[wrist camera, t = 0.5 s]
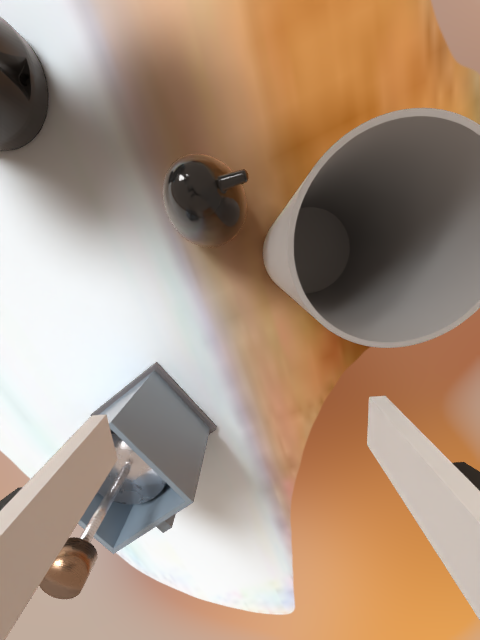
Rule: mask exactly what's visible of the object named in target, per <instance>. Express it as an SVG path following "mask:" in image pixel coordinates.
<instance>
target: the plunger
mask: <svg viewBox="0 0 480 640" xmlns="http://www.w3.org/2000/svg"><path fill="white" fill-rule="evenodd" d="M111 435H112V439H113V443H114V447H115V451H116V455H117V459H118V460H117V461H116V463H115V465H114V466H113V468H112V469H111V471H110V473H109V474H108V476H107V477H106V479H105V481H104V482H103V484H102V485H101V487H100V489H99V490H98V493H99V494H100V495H102V496H103V497H104V498H103V500H102V501H101V503H100V505H99V506H98V508H97V510H96V511H95V513H94V515H93V516H92V518H91V520H90V521H89V523H88V525H87V526H86V528H85V530H84V531H83V533H82V535H81V536H80V538H68V540H67V541H66V543H65V545H64V546H63V548H62V549H61V551H60V553H59V554H58V556H57V557H56V559H55V561H54V562H53V564H52V565H51V567H50V569H49V570H48V572H47V573H46V575H45V577H44V578H43V580H42V581H41V583H40V585H39V586H40V587H41V589H42V590H43V591H44V592H45V593H47V594H48V595H50V596H52V597H55V598H59V599H70V598H73V597H76V596H77V595H78V594H79V593H80V591H81V590H82V588H83V586H84V584H85V582H86V580H87V578H88V576H89V574H90V572H91V570H92V568H93V566H94V564H95V562H96V560H97V551H96V549H95V548H94V546H93V545H92V544H91V543H90V542H91V540H92V538H93V537H94V535H95V533H96V531H97V529H98V528H99V526H100V524H101V522H102V520H103V519H104V517H105V515H106V513H107V511H108V510H109V508H110V506H111V504H112V502H113V501H114V502H117V503H121V504H140V503H144V502H147V501H149V500H151V499H153V498H154V497H156V496H157V495H158V494H159V493H160V492H161V491H162V489H163V488H164V485H165V483H166V482H165V481H164V480H163V479H162V478H161V477H160V476H159V475H158V474H157V473H156V472H155V471H154V470H153V469H152V468H150V467H149V466H148V465H147V464H146V463H145V462H144V461H143V460H142V459H141V458H140V457H139V456H138V455H137V454H136V453H135V452H134V451H133V450H132V449H131V448H130V447H129V446H128V445H127V444H126V443H125V442H124V441H123V440H122V439H121V438H119V437H118V436H117V435H116V434H115V433H114V432H113V431H112V432H111Z"/></svg>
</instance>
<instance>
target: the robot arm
mask: <svg viewBox="0 0 480 640" xmlns="http://www.w3.org/2000/svg"><path fill="white" fill-rule="evenodd" d="M47 106H48V90H47V83H46V79H45V75H44V72H43V69H42V66H41V64H40V62H39V60H38V58H37V56H36V54H35V53H34V51H33V50H32V48H31V47H30V45H29V44H28V43H27V42H26V40H25V39H24V38H23V37H22V36H21V35H20V34H19V33H18V32H17V31H16V30H15V29H14V28H13V27H12V26H11V25H10V24H8V23H7V22H6V21H5V20H4V19H3V18H1V17H0V150H13V149H17V148H19V147H22V146H24V145H25V144H27V143H28V142H30V141H31V140H32V139H33V138H34V137H35V136H36V135H37V133H38V132H39V130H40V129H41V127H42V125H43V122H44V120H45V116H46V112H47ZM367 445H368V447H369V448H370V450H371V451H372V453H373V455H374V456H375V458H376V459H377V461H378V462H379V464H380V466H381V467H382V469H383V470H384V472H385V473H386V475H387V476H388V478H389V480H390V481H391V482H392V484H393V486H394V487H395V489H396V490H397V492H398V494H399V495H400V497H401V498H402V500H403V501H404V503H405V504H406V506H407V508H408V509H409V511H410V512H411V514H412V515H413V517H414V518H415V520H416V522H417V523H418V525H419V526H420V528H421V529H422V531H423V532H424V534H425V536H426V537H427V539H428V540H429V542H430V543H431V545H432V547H433V548H434V550H435V551H436V553H437V554H438V556H439V557H440V559H441V560H442V562H443V563H444V565H445V567H446V568H447V570H448V571H449V573H450V574H451V576H452V578H453V579H454V581H455V582H456V584H457V585H458V587H459V589H460V590H461V592H462V593H463V594H464V596H465V598H466V600H467V601H468V602H469V604H470V606H471V607H472V609H473V610H474V612H475V614H476V615H477V617H478V618H479V620H480V472H479V471H478V470H476V469H474V468H473V467H471V466H469V465H468V464H466V463H465V462H457V463H451V462H450V461H449V460H448V459H447V458H446V457H445V456H444V455H443V453H442V452H440V450H439V449H438V448H436V446H435V445H434V444H433V443H431V441H430V440H428V439H427V437H426V436H425V435H424V434H423V433H422V432H421V431H420V430H419V429H418V428H417V427H416V426H415V425H414V424H413V423H412V422H411V421H410V420H409V419H408V418H407V417H405V415H404V414H403V413H402V412H401V411H400V410H399V409H398V408H397V407H396V406H395V405H394V404H393V403H392V402H391V401H390V400H389V399H388V398H387V397H386V396H374V397H369V412H368V435H367ZM117 460H118V459H117V455H116V451H115V447H114V443H113V439H112V435H111V431H110V427H109V423H108V419H107V415H92V416H91V417H90V418H89V419H88V420H87V421H86V422H85V423H84V424H83V425H82V426H81V427H80V428H79V429H78V430H77V431H76V432H75V433H74V435H73V436H72V437H71V438H70V439H69V440H68V441H67V442H66V443H65V444H64V445H63V446H62V447H61V448H60V449H59V450H58V451H57V452H56V453H55V454H54V455H53V456H52V457H51V459H50V460H49V461H48V462H47V463H46V464H45V465H44V466H43V467H42V468H41V469H40V470H39V471H38V472H37V473H36V474H35V475H34V476H33V477H32V478H31V479H30V480H29V481H28V483H27V484H26V485H25V486H24V487H21V488H17V489H16V490H15V491H13V492H12V493H11V494H9V495H8V496H6V497H5V498H4V499H2V500H1V501H0V640H5V639H6V637H7V636H8V634H9V633H10V631H11V629H12V628H13V626H14V625H15V623H16V621H17V620H18V618H19V617H20V615H21V613H22V612H23V610H24V609H25V607H26V605H27V604H28V602H29V601H30V599H31V597H32V596H33V594H34V593H35V591H36V589H37V588H38V586H39V585H40V583H41V581H42V580H43V578H44V577H45V575H46V573H47V572H48V570H49V569H50V567H51V565H52V564H53V562H54V561H55V559H56V557H57V556H58V554H59V553H60V551H61V549H62V548H63V546H64V545H65V543H66V541H67V540H68V538H69V536H70V535H71V533H72V532H73V530H74V529H75V527H76V525H77V524H78V522H79V521H80V519H81V517H82V516H83V514H84V513H85V511H86V509H87V508H88V506H89V505H90V503H91V501H92V500H93V498H94V497H95V495H96V493H97V492H98V490H99V489H100V487H101V485H102V484H103V482H104V481H105V479H106V477H107V476H108V474H109V473H110V471H111V469H112V468H113V466H114V465H115V463H116V461H117Z"/></svg>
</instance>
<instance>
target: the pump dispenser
mask: <svg viewBox="0 0 480 640" xmlns="http://www.w3.org/2000/svg"><path fill="white" fill-rule="evenodd" d="M247 181H248V173H247V171H246V170H244V169H243V170H239V171H235V172H233V171H232V170H231V169H230V168H229V167H228V166H227V165H226V164H224V163H223V162H222V161H220V160H218V159H216V158H214V157H211V156H209V155H205V154H198V153H195V154H188V155H185V156H182V157H181V158H179V159H177V160H176V161H175V162H174V163H173V164H172V165H171V166H170V168H169V169H168V171H167V173H166V176H165V179H164V184H163V202H164V207H165V210H166V213H167V215H168V218H169V220H170V221H171V223H172V225H173V226H174V227H175V229H176V230H177V231H178V232H179V233H180V234H181V235H182V236H183V237H184V238H185V239H187V240H188V241H190V242H191V243H193V244H196V245H199V246H202V247H217V246H221V245H223V244H226V243H227V242H229V241H230V240H232V239H233V238H234V237H235V236H236V235H237V234H238V233H239V231H240V230H241V228H242V226H243V224H244V221H245V218H246V212H247V201H246V195H245V191H244V189H243V186H242V184H243V183H245V182H247Z"/></svg>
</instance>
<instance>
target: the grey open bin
mask: <svg viewBox="0 0 480 640" xmlns="http://www.w3.org/2000/svg"><path fill="white" fill-rule="evenodd" d="M92 415H107V419H108V423H109V427H110V431H111V432H112V431H113V432H114V433H115V434H116V435H117V436H118V437H119V438H121V439H122V440H123V441H124V442H125V443H126V444H127V445H128V446H129V447H130V448H131V449H132V450H133V451H134V452H135V453H136V454H137V455H138V456H139V457H140V458H141V459H142V460H143V461H144V462H145V463H146V464H147V465H148V466H149V467H150V468H152V469H153V470H154V471H155V472H156V473H157V474H158V475H159V476H160V477H161V478H162V479H163V480H164V481H165V482H166V483H165V485H164V488H163V489H162V491H161V492H160V493H159V494H158V495H157V496H156V497H154V498H153V499H151V500H149V501H147V502H144V503H140V504H121V503H117V502H114V501H113V502H112V504H111V506H110V508H109V510H108V511H107V513H106V515H105V517H104V519H103V520H102V522H101V524H100V526H99V528H98V529H97V531H96V533H95V535H94V538H95V539H96V540H98V541H99V542H100V543H101V544H102V545H103V546H105V547H106V548H107V549H108V550H109V551H111V552H112V553H113V554H114V553H116V552H117V551H119V550H120V549H122V548H123V547H125V546H126V545H128V544H130V543H131V542H133V541H134V540H136V539H137V538H139V537H140V536H142V535H143V534H145V533H147V532H148V531H150V530H151V529H153V528H154V527H157V528H158V529H160V530H161V531H162V532H163V533H164V532H165V531H167V530H169V529H170V528H172V525H173V521H174V518H175V514H176V513H177V512H179V511H181V510H182V509H184V508H185V507H187V506H188V505H190V504H191V503H193V502H194V497H195V493H196V488H197V484H198V479H199V475H200V470H201V466H202V461H203V457H204V453H205V448H206V444H207V439H208V435H209V434H210V433H212V432H213V431H215V430H216V427H217V426H216V425H215V424H214V423H213V422H212V421H211V420H210V419H209V418H208V417H207V416H206V414H205V413H204V412H203V411H202V410H201V409H200V408H199V407H198V406H197V405H196V404H195V403H194V402H193V401H192V399H191V398H190V397H189V396H188V395H187V394H186V393H185V392H184V391H183V390H182V389H181V388H180V387H179V386H178V384H177V383H176V382H175V381H174V380H173V379H172V378H171V377H170V376H169V375H168V374H167V373H166V372H165V370H164V369H163V368H162V367H161V366H160V365H159V364H158V363H157V362H156V363H154V364H153V365H152V366H151V367H149V368H148V369H147V370H146V371H144V372H143V373H142V374H141V375H140V376H138V377H137V378H136V379H135V380H133V381H132V382H131V383H130V384H128V385H127V386H126V387H125V388H123V389H122V390H121V391H120V392H118V393H117V394H116V395H115V396H113V397H112V398H111V399H110V400H108V401H107V402H106V403H105V404H103V405H102V406H101V407H100V408H98V409H97V410H96V411H95V412H93V413H92V414H91V416H92ZM103 498H104V497H103V496H102V495H100V494H99V493H98V492H97V493H96V495H95V497H94V498H93V500H92V501H91V503H90V505H89V506H88V508H87V509H86V511H85V513H84V514H83V516H82V517H81V519H80V521H79V522H78V524H79V525H80V526H81V527H82V528H84V529H85V528H86V526H87V525H88V523H89V521H90V520H91V518H92V516H93V515H94V513H95V511H96V510H97V508H98V506H99V505H100V503H101V501H102V500H103Z"/></svg>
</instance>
